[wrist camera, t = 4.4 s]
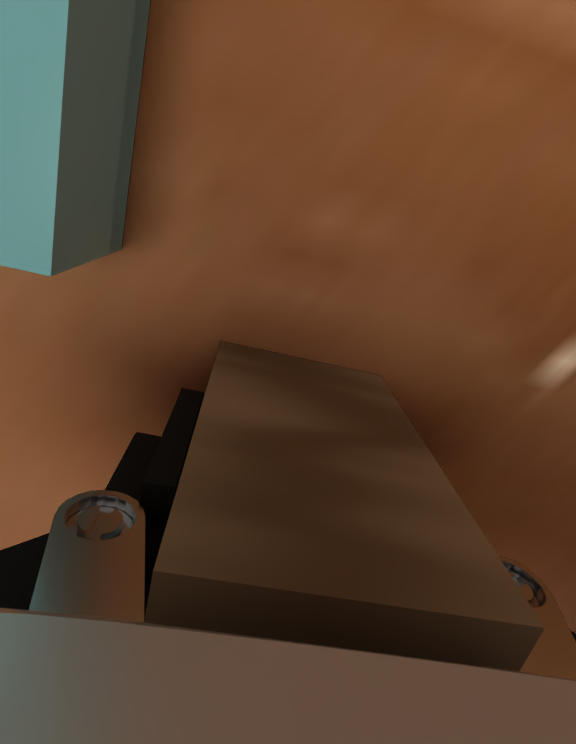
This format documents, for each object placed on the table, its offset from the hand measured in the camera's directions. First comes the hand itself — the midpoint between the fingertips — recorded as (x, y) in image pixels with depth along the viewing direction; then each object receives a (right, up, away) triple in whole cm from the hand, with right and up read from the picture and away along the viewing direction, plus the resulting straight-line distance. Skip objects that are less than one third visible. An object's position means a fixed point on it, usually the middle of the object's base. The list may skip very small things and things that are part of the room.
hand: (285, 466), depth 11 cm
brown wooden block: (0, +1, +2) cm, 2 cm away
